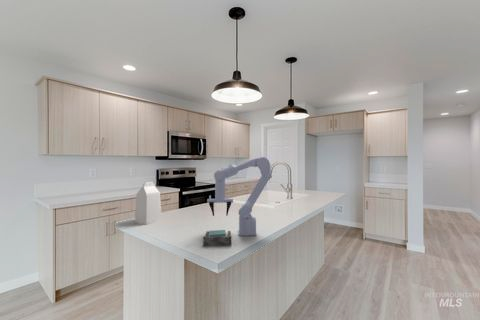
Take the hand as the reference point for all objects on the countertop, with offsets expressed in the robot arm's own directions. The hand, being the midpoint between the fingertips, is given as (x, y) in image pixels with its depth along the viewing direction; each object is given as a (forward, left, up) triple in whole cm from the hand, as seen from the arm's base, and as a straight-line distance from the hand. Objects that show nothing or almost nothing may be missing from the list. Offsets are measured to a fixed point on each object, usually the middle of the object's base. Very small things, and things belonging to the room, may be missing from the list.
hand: (220, 215), depth 126 cm
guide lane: (+1, +11, -9) cm, 15 cm away
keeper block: (+1, +15, -10) cm, 18 cm away
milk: (+48, -25, -10) cm, 55 cm away
